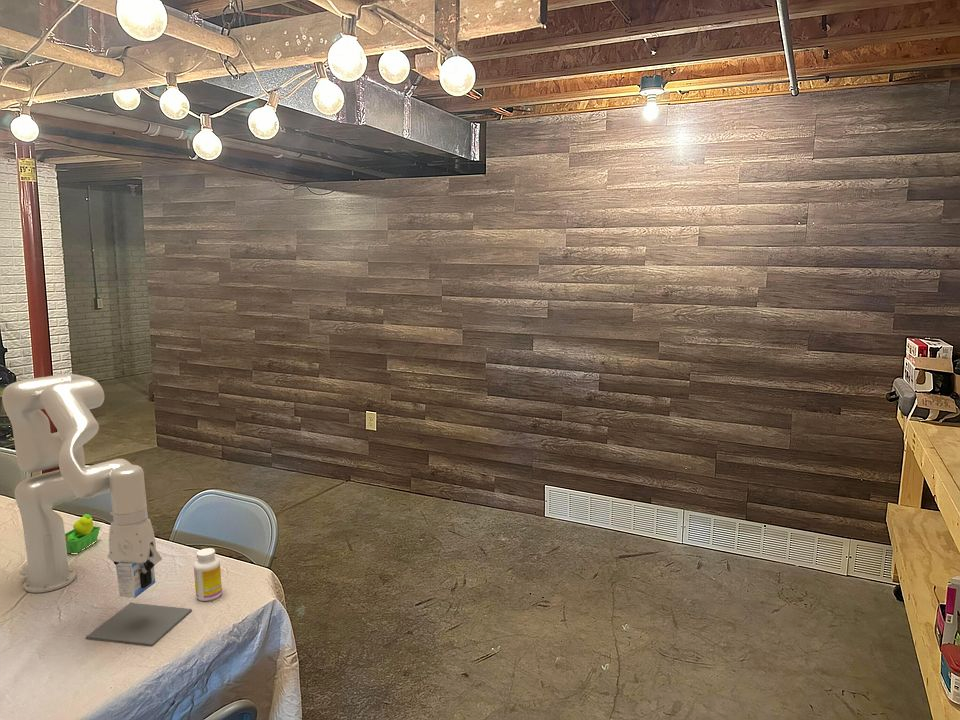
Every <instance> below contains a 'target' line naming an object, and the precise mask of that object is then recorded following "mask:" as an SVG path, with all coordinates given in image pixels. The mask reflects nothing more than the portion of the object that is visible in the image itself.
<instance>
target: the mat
mask: <svg viewBox="0 0 960 720" xmlns="http://www.w3.org/2000/svg"><path fill="white" fill-rule="evenodd" d="M192 611H193V608H187V607H176V606H166V605H155V604H145V603H137V602H129V604H126V605H125V606H124V607H123V608H122V609H120V610H119V611H118V612H116V613H115V614H114V615H112V616H111V617H109V619H107V620H106V621H105V622H103V623H101V624H100V625H99V626H98V627H96V628H95V629H93V630H92V631H91V632H90V633H88V634H87V635H85V640H93V641H101V642H110V643H119V644H126V645H136V646H139V645H140V646H147V647H154V645H156V644H157V643H158V642H159V641H160V640H161V639H162V638H163V637H164V636H166V635H167V634H168V633H169V632H170V631H171V630H172V629H173V628H175V627H176V626H177V625H178V624H179V623H180V622H182V621H183V619H185V618H186V617H187V616H188V615H189V614H191V612H192Z"/></svg>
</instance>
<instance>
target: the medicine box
mask: <svg viewBox="0 0 960 720" xmlns="http://www.w3.org/2000/svg"><path fill="white" fill-rule="evenodd" d="M150 558H151V561H152V560H153V559H152V557H150ZM145 564H146V562H145ZM146 566H147V564H146ZM115 568H116V577H117V587H118V594H119V597H121V598H122V597H123V598H132V599H136V598H137V597H138V596H141V594H143V593H144V592H145V591H146V590H148V589H149V588H150V587H151V586H153V585H154V584H156V574H155V566H154V567H153V568H152V569H151V576H152V583H151V584H150V585H148V586H147V587H146V588H141V581H140V574H141V573H142V571H141V568H140V564H135V563H126V562H120V563H118V564H117V565H115Z"/></svg>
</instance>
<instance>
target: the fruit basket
mask: <svg viewBox="0 0 960 720" xmlns="http://www.w3.org/2000/svg"><path fill="white" fill-rule="evenodd" d="M72 527H73V529H72V530H69V531H68V532H65V539H66V548H67V553H78V552H80V551H81V550H82V549H84V548H86V547H87V546H89V545H90V544H92V543H93V542H95V541H98V536H99V532H100V530H101V526H94V520H93V517H92V515H91V514H87V513H85V514H84V515H82V517H81V518H79V519H77V520H76V521H75V522H74V524H73V525H72ZM86 549H87V548H86ZM81 552H82V551H81ZM81 552H80V553H81ZM78 554H79V553H78Z"/></svg>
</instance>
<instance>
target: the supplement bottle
mask: <svg viewBox="0 0 960 720" xmlns="http://www.w3.org/2000/svg"><path fill="white" fill-rule="evenodd" d="M196 558H197V560H196V561H195V562H194V564H193V573H194V576H193V577H194V585H195V586H194V587H195V596H196V599H197V600H198V601H201V602H207V601H213V600H216V599H217V598H219V597H220V596H221V595H222V594H223V587H222V586H223V585H222V573H221V563H220V560H219V558H218V557H216V550H215V549H214V548H211V547H209V548H202V549H199V550H198V551H197V552H196Z"/></svg>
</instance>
